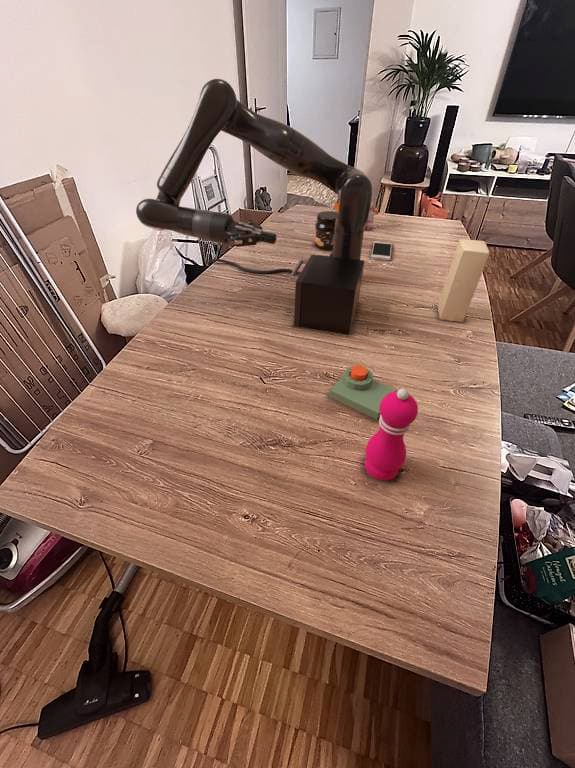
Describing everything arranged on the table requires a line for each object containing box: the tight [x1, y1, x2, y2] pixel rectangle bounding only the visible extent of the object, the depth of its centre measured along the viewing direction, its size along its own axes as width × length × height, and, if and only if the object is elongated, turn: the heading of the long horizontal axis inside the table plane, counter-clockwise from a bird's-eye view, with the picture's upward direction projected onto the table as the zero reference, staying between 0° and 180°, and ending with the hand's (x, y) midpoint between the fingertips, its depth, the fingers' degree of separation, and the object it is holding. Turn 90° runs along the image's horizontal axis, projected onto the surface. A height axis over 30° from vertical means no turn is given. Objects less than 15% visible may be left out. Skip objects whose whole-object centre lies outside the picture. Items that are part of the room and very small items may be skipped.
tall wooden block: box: [437, 238, 490, 323], centre depth 105 cm, size 8×7×21 cm
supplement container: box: [313, 210, 338, 251], centre depth 146 cm, size 10×10×12 cm
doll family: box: [331, 197, 380, 231], centre depth 161 cm, size 21×10×13 cm, turn 65°
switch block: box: [328, 365, 397, 421], centre depth 84 cm, size 12×10×4 cm
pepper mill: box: [364, 388, 419, 481], centre depth 65 cm, size 7×7×20 cm
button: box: [350, 364, 368, 381], centre depth 85 cm, size 4×4×2 cm
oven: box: [299, 254, 365, 336], centre depth 107 cm, size 14×18×14 cm
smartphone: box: [370, 240, 393, 261], centre depth 146 cm, size 7×15×1 cm, turn 166°
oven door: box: [287, 254, 318, 328], centre depth 109 cm, size 4×18×14 cm, turn 164°
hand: (275, 239), depth 99 cm, fingers closed
